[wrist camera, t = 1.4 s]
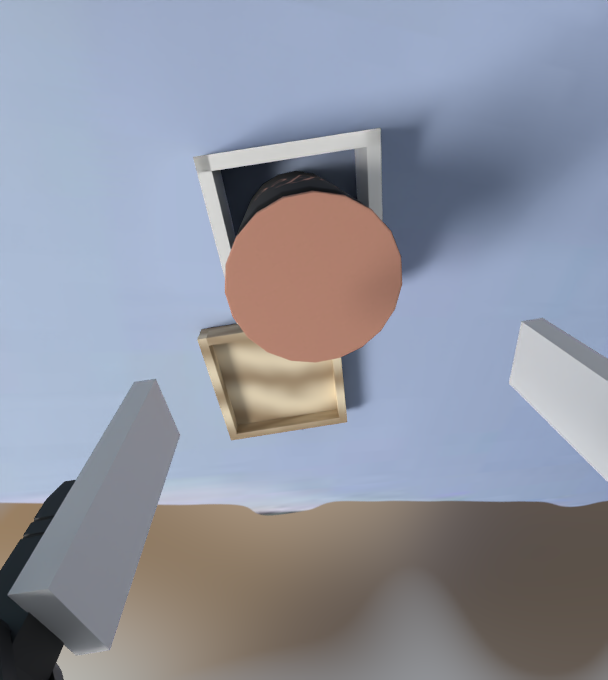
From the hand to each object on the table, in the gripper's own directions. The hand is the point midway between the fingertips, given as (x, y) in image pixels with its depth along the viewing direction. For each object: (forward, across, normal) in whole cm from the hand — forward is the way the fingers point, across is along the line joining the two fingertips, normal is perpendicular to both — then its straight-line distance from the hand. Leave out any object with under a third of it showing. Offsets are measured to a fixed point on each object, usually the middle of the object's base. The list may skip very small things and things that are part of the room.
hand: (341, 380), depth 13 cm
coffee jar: (+27, 0, 0) cm, 27 cm away
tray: (+27, -5, -18) cm, 33 cm away
